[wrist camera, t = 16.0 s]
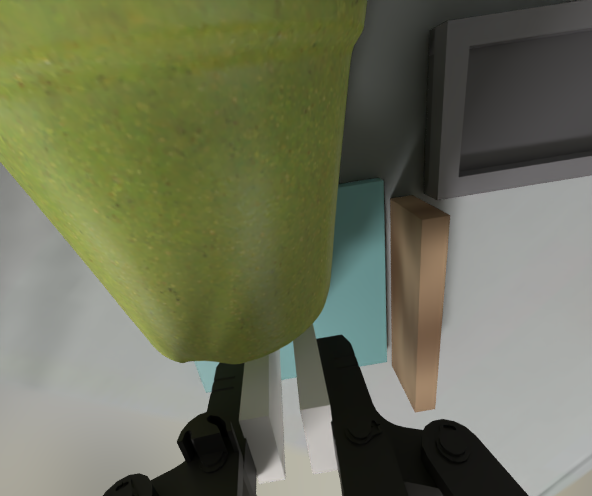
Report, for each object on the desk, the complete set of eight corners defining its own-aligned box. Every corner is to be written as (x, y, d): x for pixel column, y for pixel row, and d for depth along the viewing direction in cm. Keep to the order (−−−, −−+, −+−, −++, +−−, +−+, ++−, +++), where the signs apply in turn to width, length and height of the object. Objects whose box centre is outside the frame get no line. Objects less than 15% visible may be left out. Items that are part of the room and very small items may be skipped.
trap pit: (429, 30, 11) (448, 20, 10) (723, -15, 11) (774, -29, 10) (423, 193, 13) (437, 200, 12) (663, 154, 13) (698, 157, 12)
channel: (390, 198, 13) (421, 220, 10) (695, 149, 13) (805, 157, 11) (391, 365, 17) (414, 412, 14) (625, 325, 17) (691, 364, 15)
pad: (146, 214, 13) (140, 219, 12) (378, 177, 13) (383, 180, 12) (208, 383, 17) (205, 392, 16) (383, 353, 17) (386, 362, 16)
